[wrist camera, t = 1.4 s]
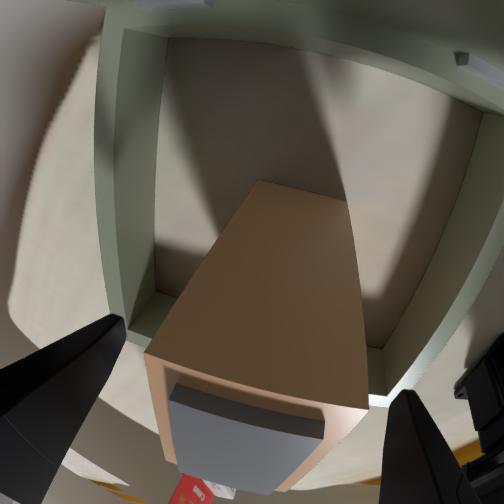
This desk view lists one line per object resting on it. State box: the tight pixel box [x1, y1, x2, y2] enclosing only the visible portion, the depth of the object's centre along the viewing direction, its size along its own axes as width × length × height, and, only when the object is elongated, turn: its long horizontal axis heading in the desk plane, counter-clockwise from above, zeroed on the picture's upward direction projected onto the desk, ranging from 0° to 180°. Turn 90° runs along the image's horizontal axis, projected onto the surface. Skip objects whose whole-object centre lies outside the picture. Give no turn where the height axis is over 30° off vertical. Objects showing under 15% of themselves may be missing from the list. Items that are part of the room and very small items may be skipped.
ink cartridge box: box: [167, 473, 236, 504], centre depth 23 cm, size 2×11×10 cm, turn 7°
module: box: [144, 180, 369, 496], centre depth 10 cm, size 4×6×10 cm, turn 171°
